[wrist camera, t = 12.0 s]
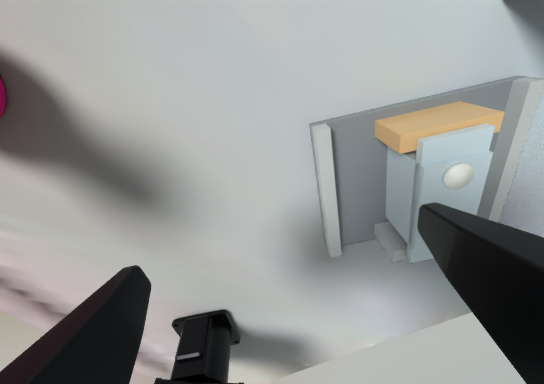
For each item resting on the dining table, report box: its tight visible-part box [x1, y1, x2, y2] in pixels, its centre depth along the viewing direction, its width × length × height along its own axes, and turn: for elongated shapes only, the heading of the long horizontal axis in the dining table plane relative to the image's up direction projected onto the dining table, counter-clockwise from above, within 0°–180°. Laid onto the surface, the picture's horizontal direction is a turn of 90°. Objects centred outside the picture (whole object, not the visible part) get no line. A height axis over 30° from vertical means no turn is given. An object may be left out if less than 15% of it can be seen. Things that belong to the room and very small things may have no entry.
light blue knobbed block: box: [386, 123, 495, 263], centre depth 18 cm, size 10×4×5 cm, turn 12°
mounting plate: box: [309, 76, 544, 262], centre depth 19 cm, size 12×15×4 cm
